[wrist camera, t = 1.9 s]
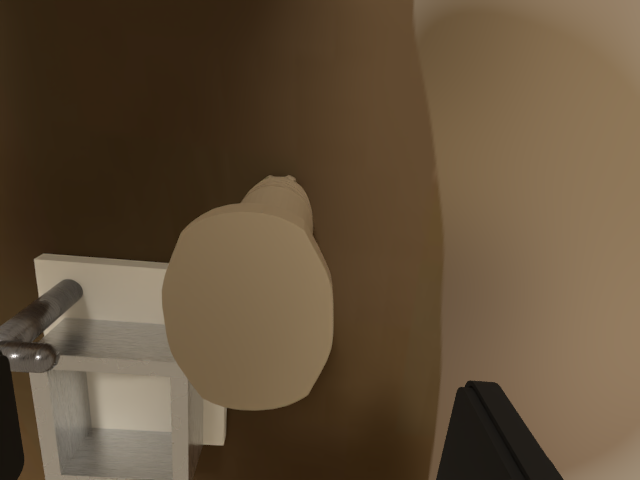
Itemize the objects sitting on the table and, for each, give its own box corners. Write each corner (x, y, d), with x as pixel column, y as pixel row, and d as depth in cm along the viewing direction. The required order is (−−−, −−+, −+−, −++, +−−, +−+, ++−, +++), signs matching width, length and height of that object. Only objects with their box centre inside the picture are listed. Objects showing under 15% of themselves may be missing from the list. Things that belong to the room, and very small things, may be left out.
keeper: (43, 253, 27) (-74, 322, 19) (230, 267, 28) (198, 341, 19) (65, 426, 31) (-21, 543, 23) (225, 435, 32) (197, 552, 24)
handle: (319, 145, 25) (333, 210, 11) (320, 245, 27) (333, 408, 13) (238, 146, 25) (147, 213, 11) (245, 247, 27) (178, 412, 13)
